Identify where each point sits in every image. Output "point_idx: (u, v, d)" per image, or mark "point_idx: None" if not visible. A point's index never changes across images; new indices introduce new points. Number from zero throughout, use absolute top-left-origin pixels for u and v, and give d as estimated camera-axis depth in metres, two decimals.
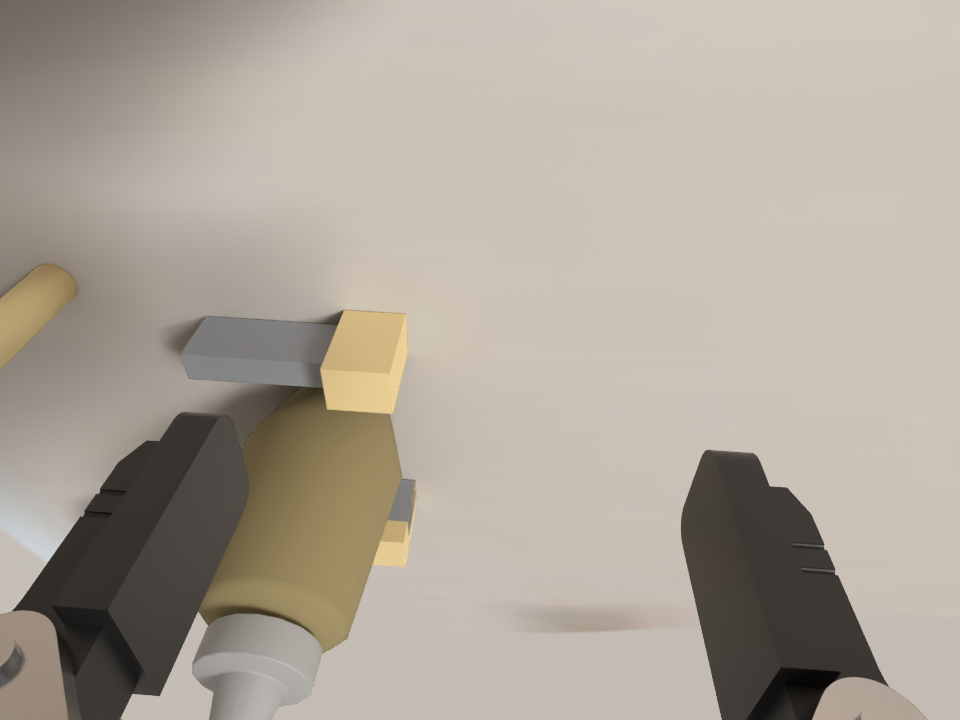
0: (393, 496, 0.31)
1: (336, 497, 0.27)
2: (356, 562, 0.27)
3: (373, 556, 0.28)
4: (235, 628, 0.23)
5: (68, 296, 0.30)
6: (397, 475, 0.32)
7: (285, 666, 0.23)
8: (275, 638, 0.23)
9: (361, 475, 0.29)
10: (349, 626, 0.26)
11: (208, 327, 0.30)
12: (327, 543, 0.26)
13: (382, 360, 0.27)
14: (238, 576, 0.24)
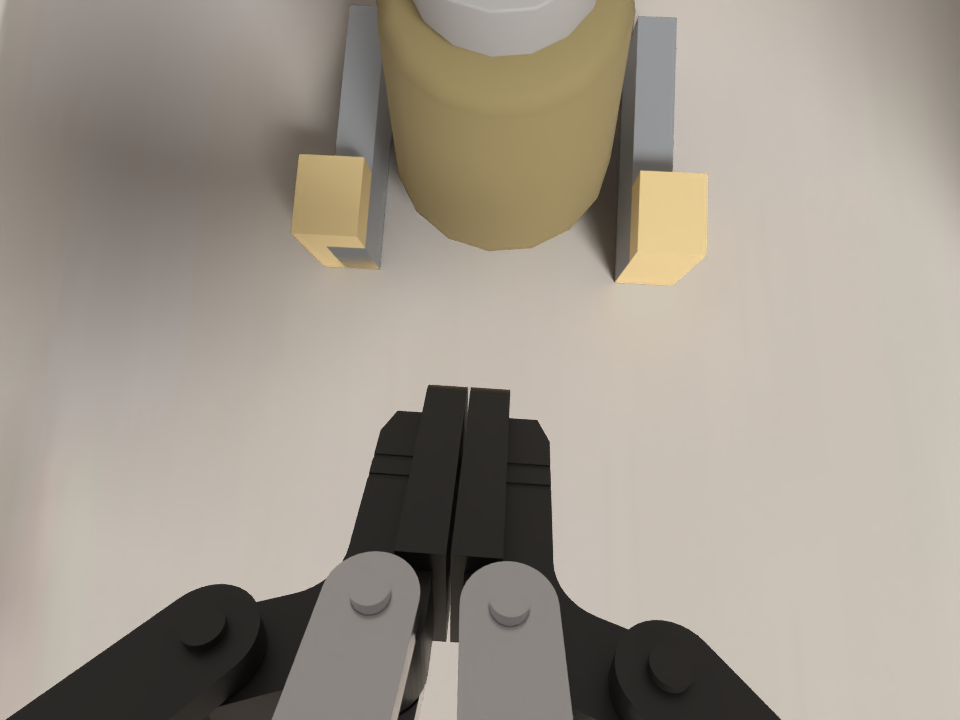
0: (496, 233, 0.22)
1: (596, 153, 0.19)
2: (544, 156, 0.17)
3: (494, 185, 0.18)
4: None
5: None
6: (506, 244, 0.23)
7: None
8: None
9: (577, 194, 0.21)
10: (487, 116, 0.15)
11: None
12: (596, 119, 0.17)
13: None
14: None
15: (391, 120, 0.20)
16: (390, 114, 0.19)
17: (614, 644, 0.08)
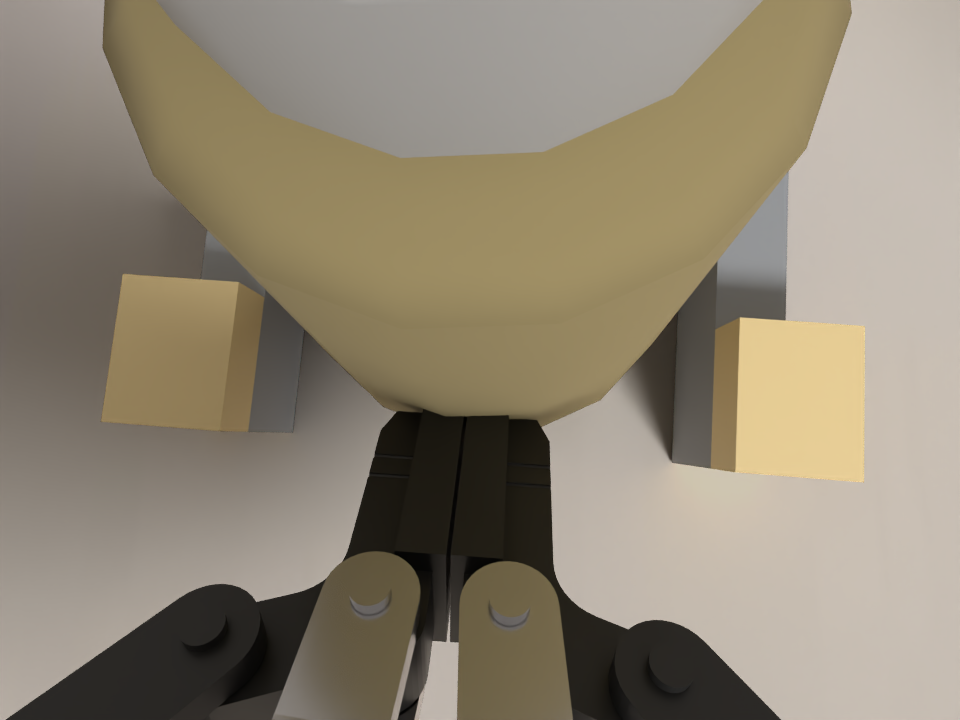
0: None
1: (673, 313, 0.09)
2: (566, 364, 0.07)
3: (448, 394, 0.08)
4: None
5: None
6: None
7: None
8: None
9: (624, 370, 0.11)
10: (402, 317, 0.05)
11: None
12: (696, 278, 0.07)
13: None
14: None
15: None
16: None
17: (614, 644, 0.08)
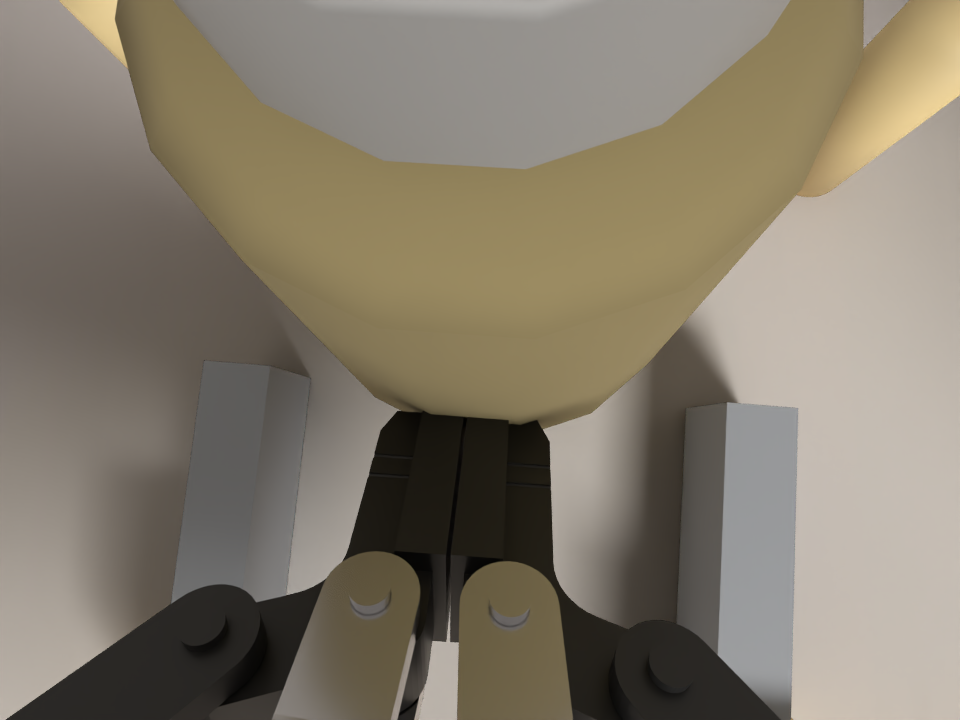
0: None
1: (666, 336, 0.09)
2: (547, 377, 0.07)
3: (431, 393, 0.08)
4: None
5: (812, 183, 0.16)
6: None
7: None
8: None
9: (615, 386, 0.10)
10: (378, 317, 0.05)
11: None
12: (688, 306, 0.07)
13: None
14: None
15: None
16: None
17: (614, 644, 0.08)
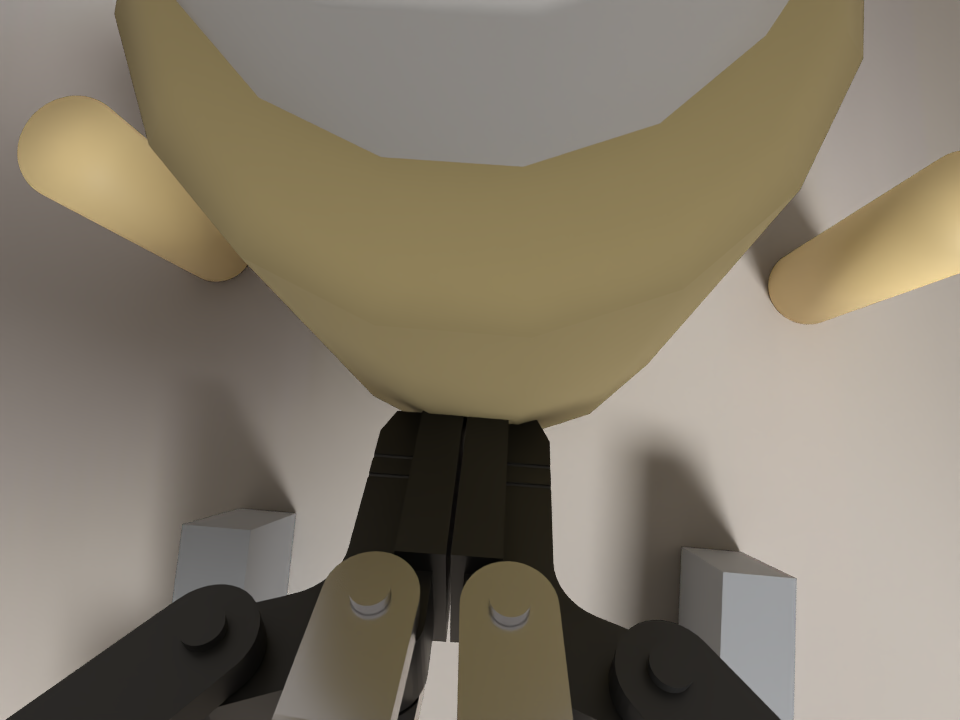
0: None
1: (665, 336, 0.09)
2: (545, 377, 0.07)
3: (429, 392, 0.08)
4: None
5: (811, 316, 0.16)
6: None
7: None
8: None
9: (612, 386, 0.10)
10: (375, 314, 0.05)
11: None
12: (686, 306, 0.07)
13: None
14: None
15: None
16: None
17: (614, 644, 0.08)
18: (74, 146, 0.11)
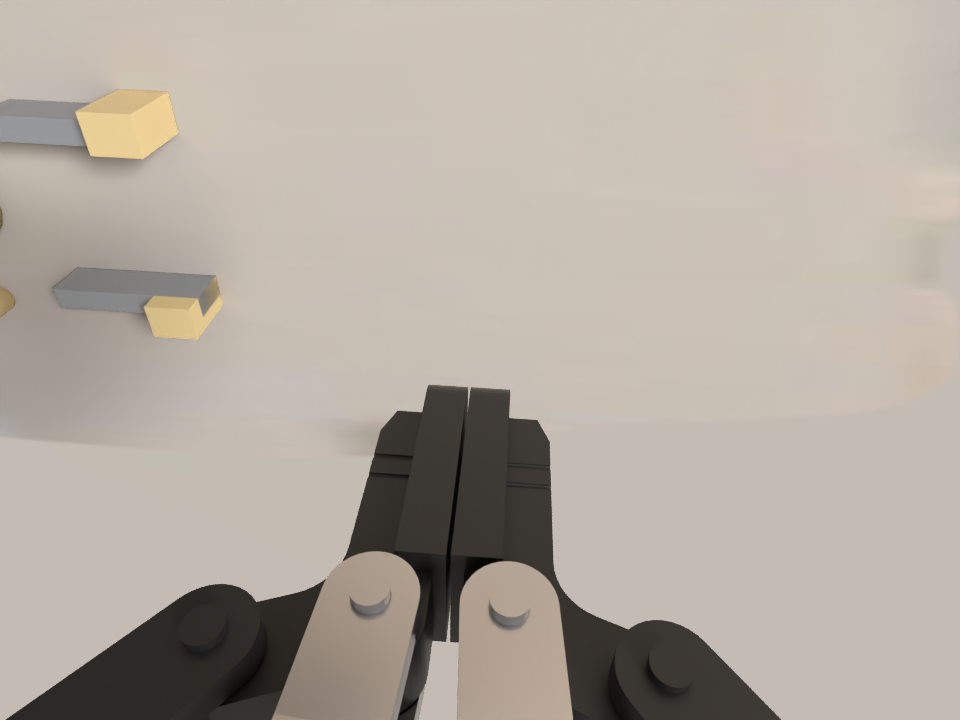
0: None
1: None
2: None
3: None
4: None
5: None
6: None
7: None
8: None
9: None
10: None
11: (6, 103, 0.37)
12: None
13: (129, 109, 0.34)
14: None
15: None
16: None
17: (614, 644, 0.08)
18: None
